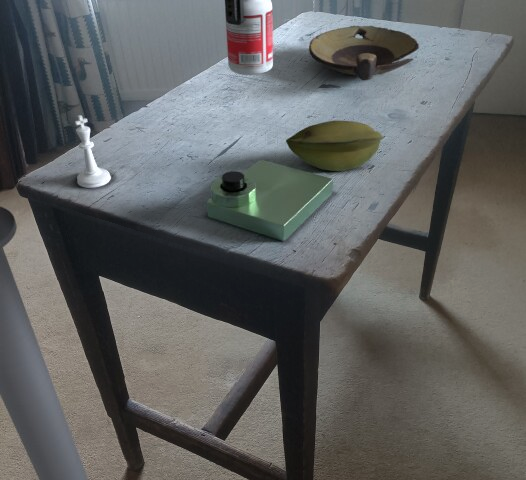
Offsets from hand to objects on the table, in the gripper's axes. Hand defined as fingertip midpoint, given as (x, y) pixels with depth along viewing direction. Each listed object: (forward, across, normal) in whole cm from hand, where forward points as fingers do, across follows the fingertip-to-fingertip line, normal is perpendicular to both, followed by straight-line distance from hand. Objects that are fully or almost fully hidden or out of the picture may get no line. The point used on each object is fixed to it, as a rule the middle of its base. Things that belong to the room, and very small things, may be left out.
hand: (249, 16), depth 77 cm
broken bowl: (+22, -47, -3) cm, 52 cm away
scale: (+22, +8, +8) cm, 25 cm away
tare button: (+18, +12, +4) cm, 22 cm away
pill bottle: (+7, 0, 0) cm, 7 cm away
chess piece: (+22, +15, -19) cm, 33 cm away
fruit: (+22, -8, +10) cm, 25 cm away
